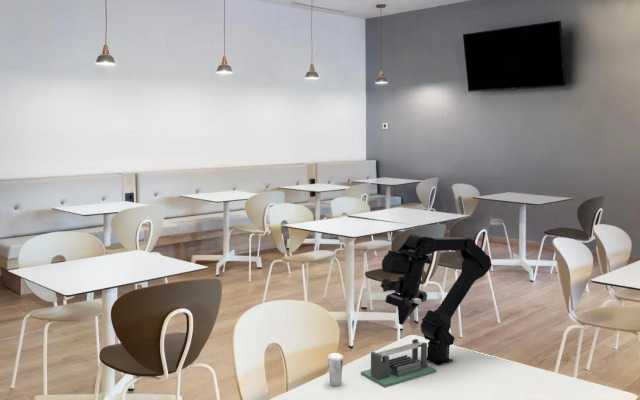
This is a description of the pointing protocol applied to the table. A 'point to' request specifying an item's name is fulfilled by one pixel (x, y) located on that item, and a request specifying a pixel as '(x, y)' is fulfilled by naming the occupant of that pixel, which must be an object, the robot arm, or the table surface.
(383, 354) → the metal bar
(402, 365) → the heatsink
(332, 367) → the milkshake
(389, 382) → the board
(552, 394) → the table surface
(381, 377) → the lug block
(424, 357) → the bracket
